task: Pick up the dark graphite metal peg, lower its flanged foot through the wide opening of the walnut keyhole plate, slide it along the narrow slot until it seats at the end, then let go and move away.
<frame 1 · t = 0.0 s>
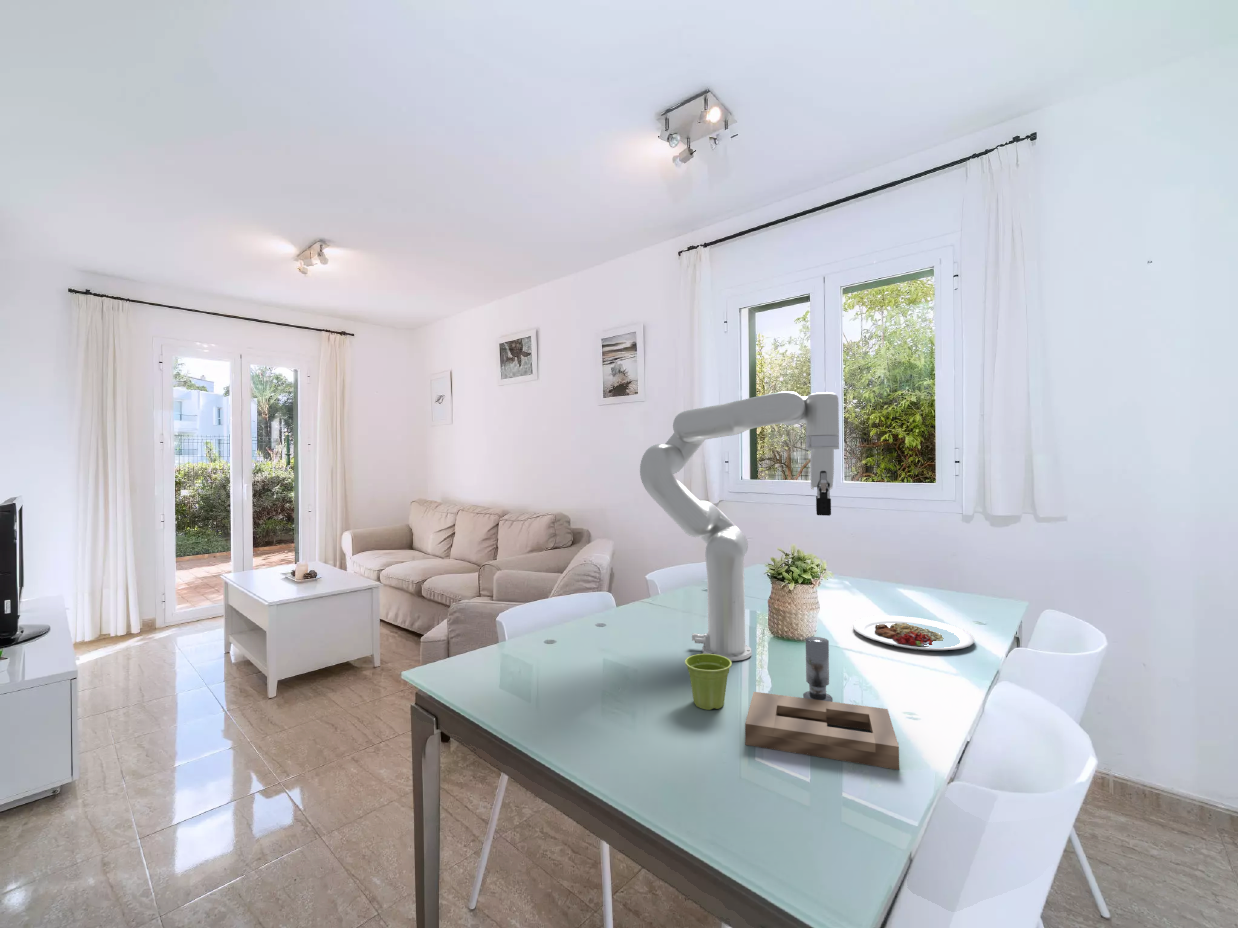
hand: (823, 513, 131), 37 cm above the table, tool pointing down, fingers open, 9 cm apart
plant pot: (708, 704, 110), on the table
peg: (817, 703, 109), on the table
plated food: (910, 637, 151), on the table
keyhole plate: (818, 736, 96), on the table
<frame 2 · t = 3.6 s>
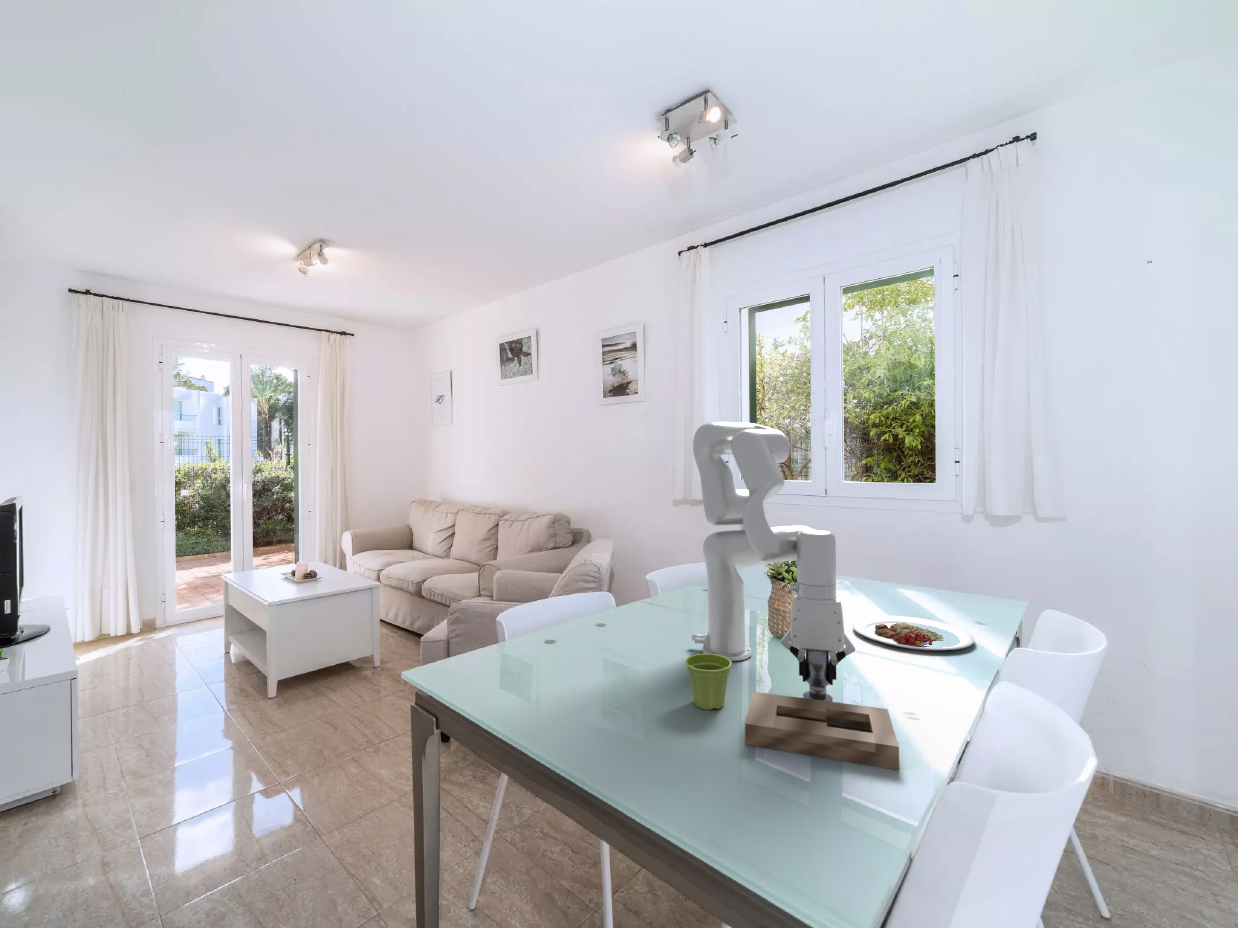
hand: (817, 679, 109), 5 cm above the table, tool pointing down, fingers closed on peg, 4 cm apart
peg: (817, 703, 109), on the table, touching gripper
everything else where it was.
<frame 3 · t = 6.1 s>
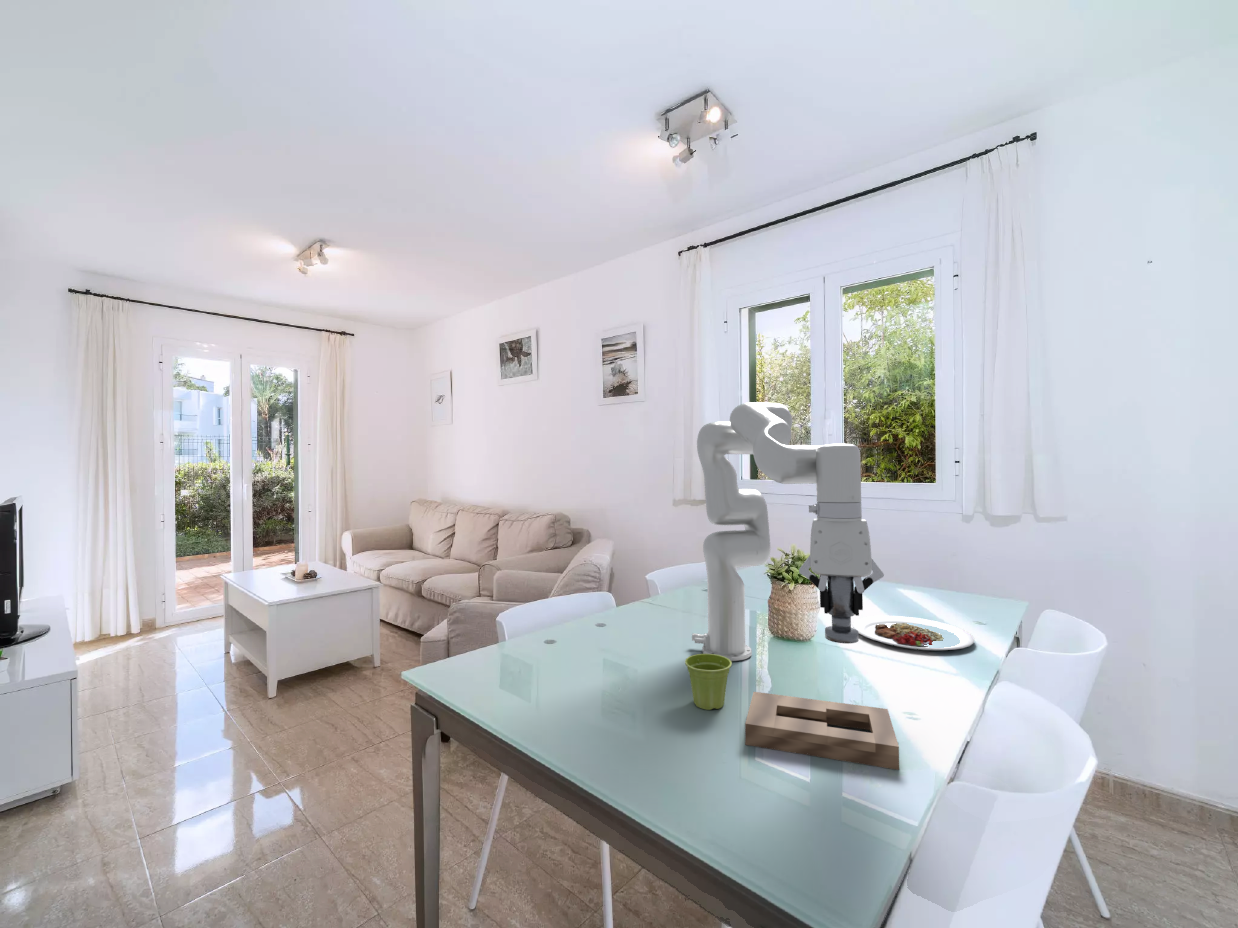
hand: (841, 611, 97), 22 cm above the table, tool pointing down, fingers closed on peg, 4 cm apart
peg: (841, 638, 97), point 17 cm above the table, touching gripper
everything else where it was.
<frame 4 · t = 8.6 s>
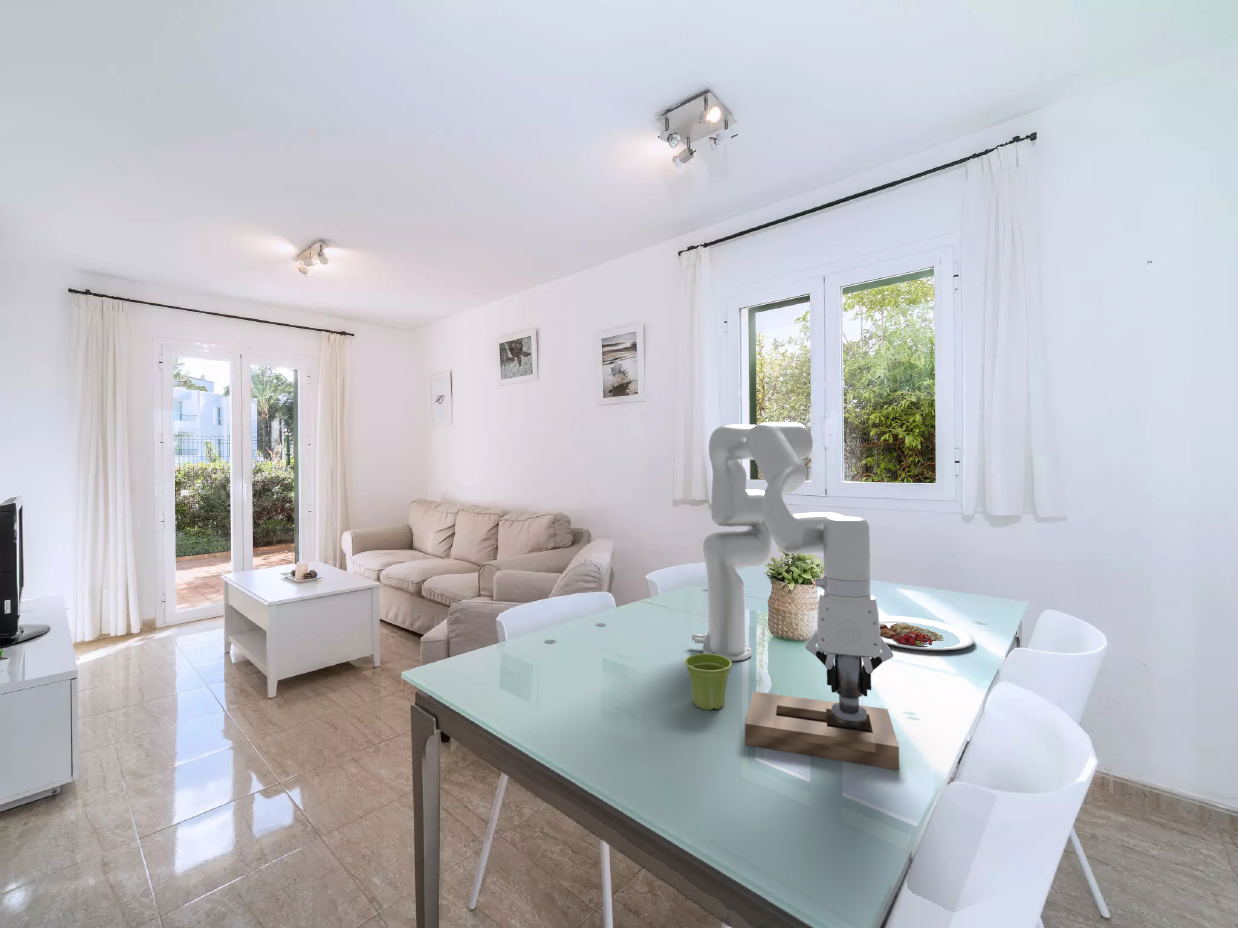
hand: (848, 690, 94), 9 cm above the table, tool pointing down, fingers closed on peg, 4 cm apart
peg: (849, 717, 94), point 4 cm above the table, touching gripper
everything else where it was.
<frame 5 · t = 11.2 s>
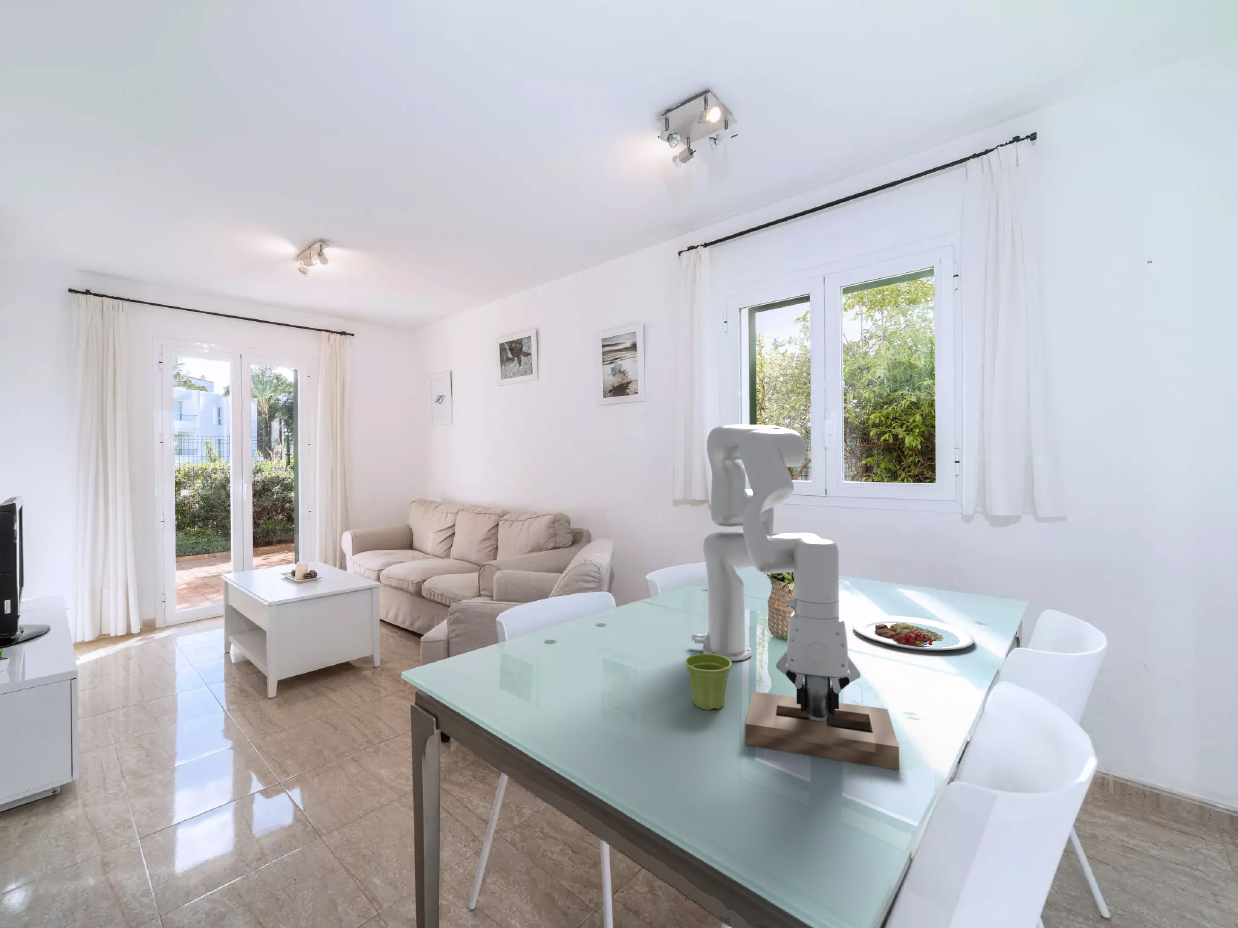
hand: (817, 709, 96), 5 cm above the table, tool pointing down, fingers closed on peg, 4 cm apart
peg: (817, 736, 96), on the table, touching gripper
everything else where it was.
when the fingers open (5 cm above the table, at t = 13.5 s): peg stays where it is, on the table.
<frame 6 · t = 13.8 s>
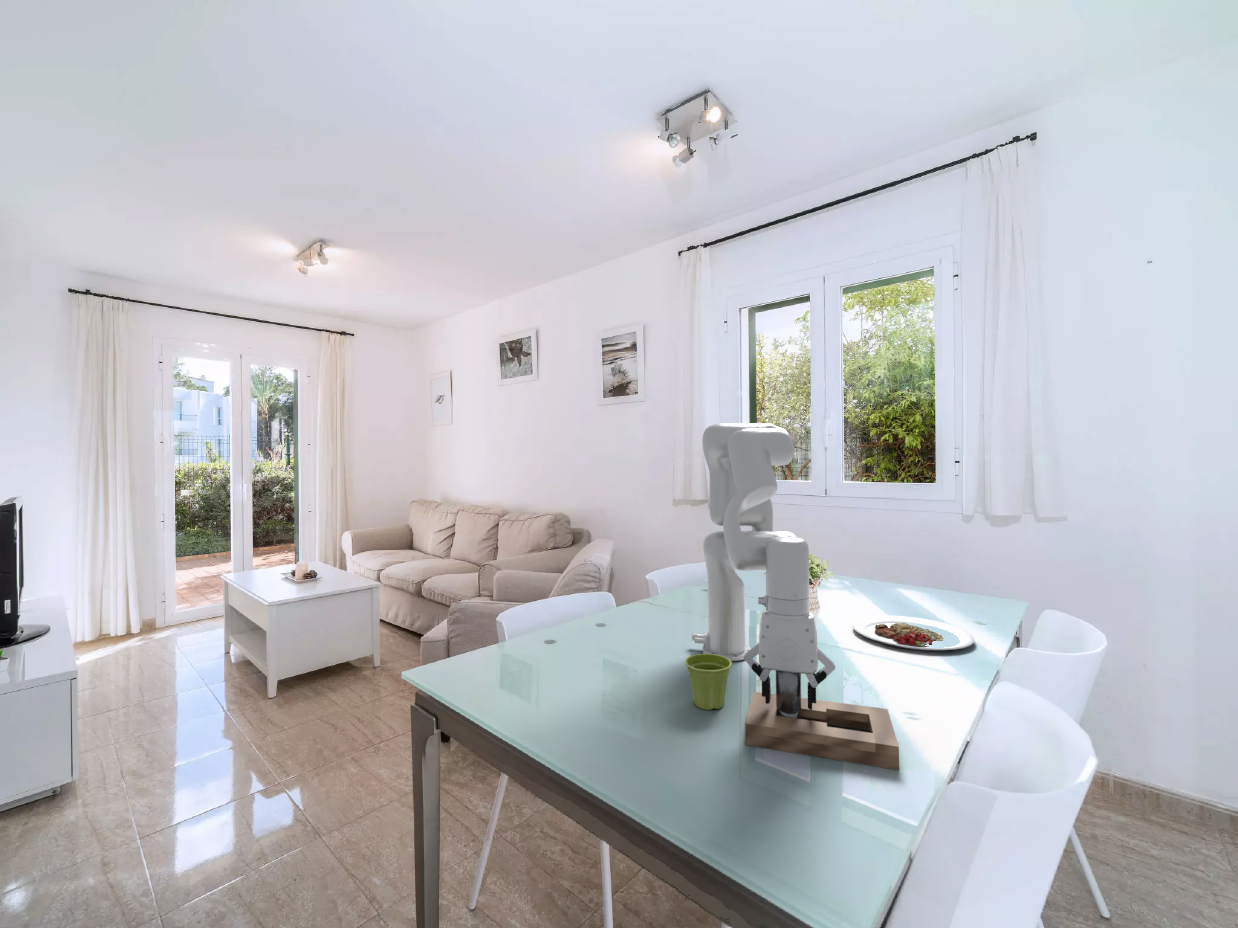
hand: (788, 702, 98), 5 cm above the table, tool pointing down, fingers open, 6 cm apart
peg: (789, 732, 98), on the table
everything else where it was.
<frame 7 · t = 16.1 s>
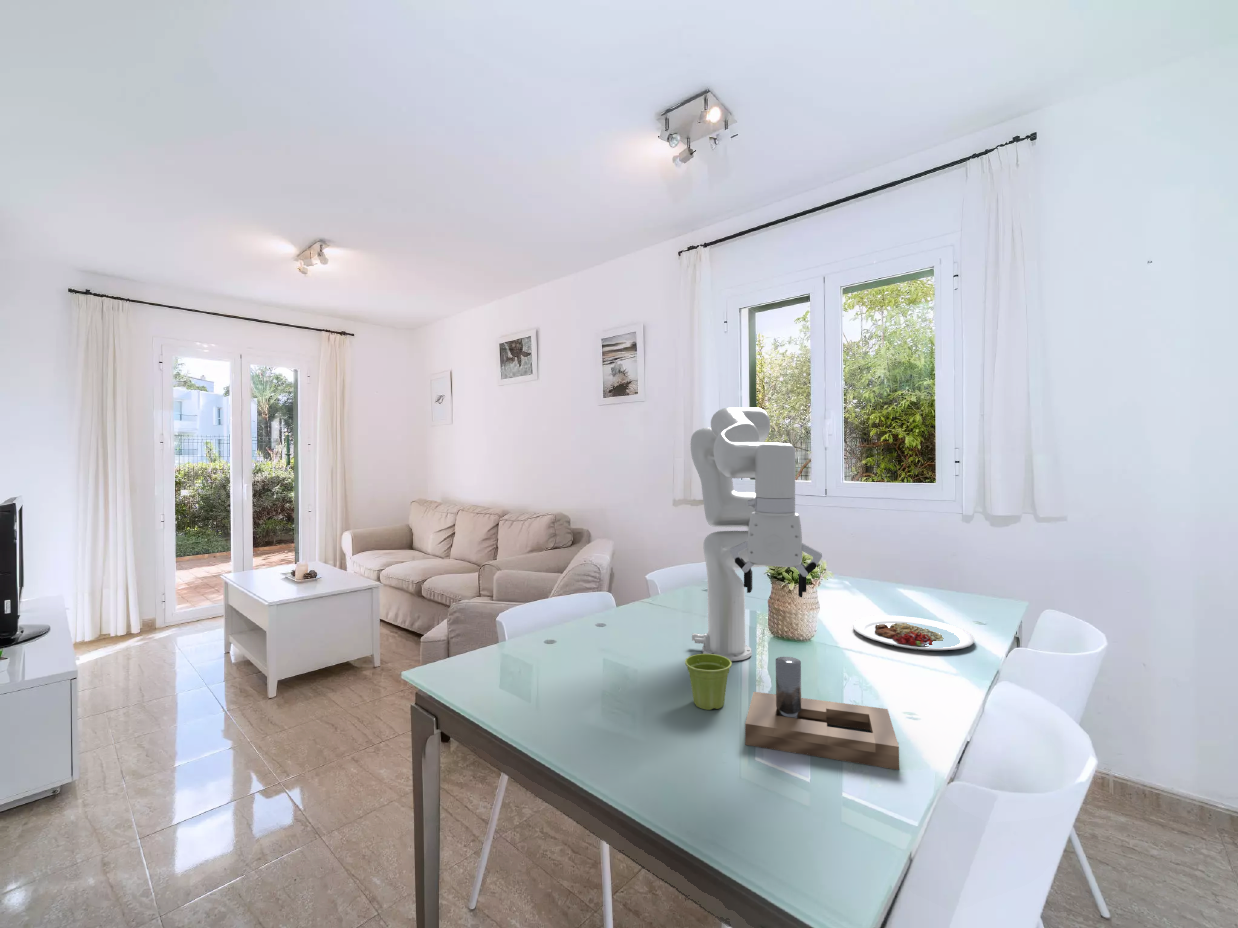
hand: (774, 593, 105), 24 cm above the table, tool pointing down, fingers open, 9 cm apart
nothing on the table moved.
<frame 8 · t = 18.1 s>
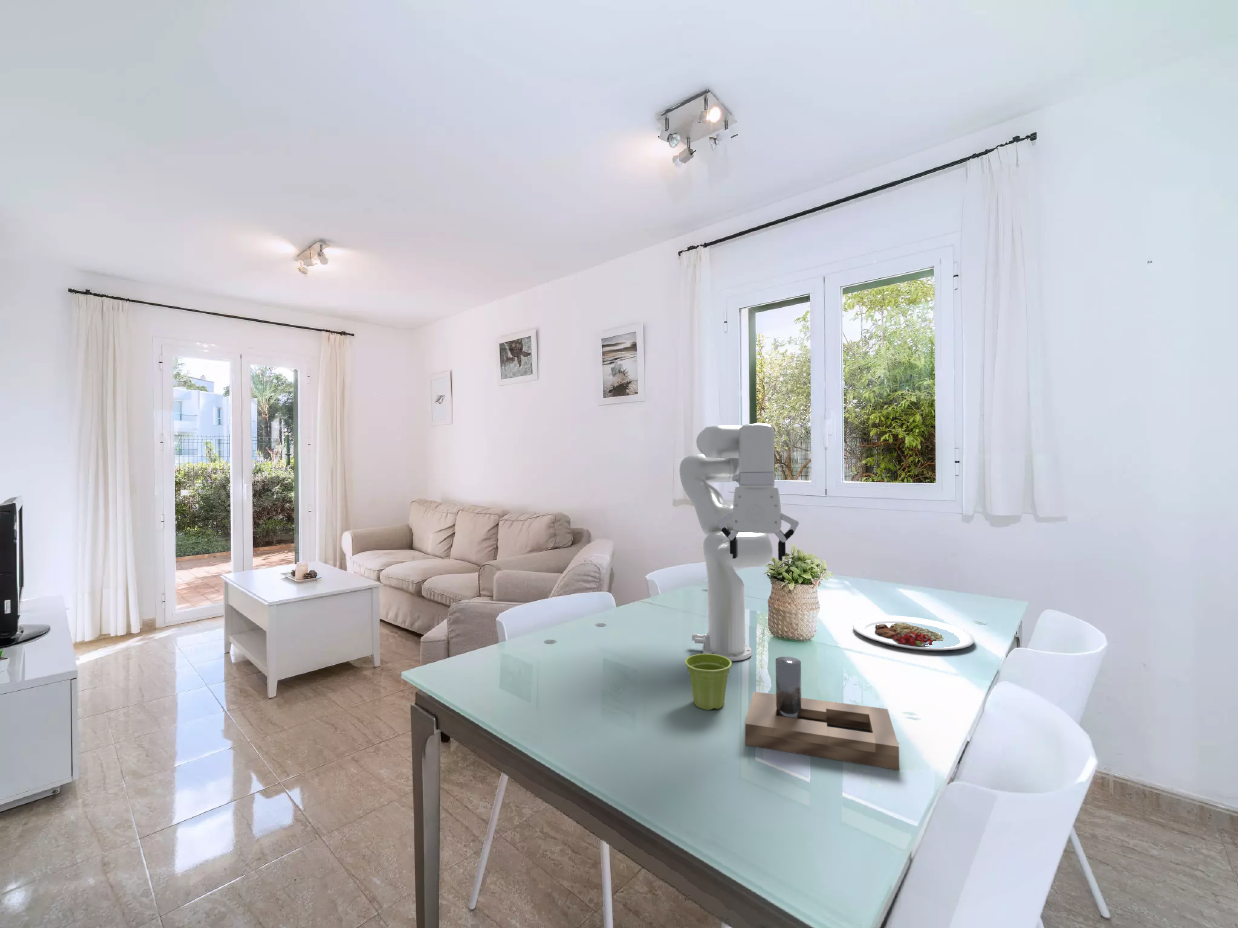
hand: (757, 558, 117), 28 cm above the table, tool pointing down, fingers open, 9 cm apart
nothing on the table moved.
at the end: peg 0.1 cm from the target spot on the keyhole plate, point 0.0 cm above the keyhole plate's base; peg tilted 0°; the gripper is holding nothing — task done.
